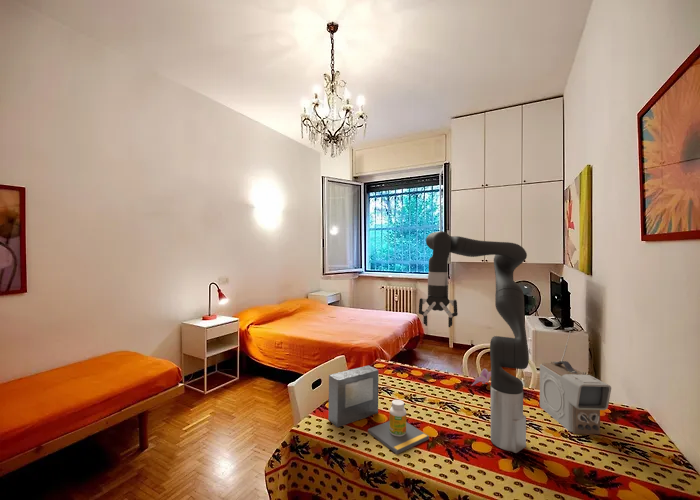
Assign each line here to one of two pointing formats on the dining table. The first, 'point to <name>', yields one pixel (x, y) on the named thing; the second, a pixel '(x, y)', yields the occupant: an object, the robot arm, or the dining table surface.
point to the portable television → (572, 396)
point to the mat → (396, 442)
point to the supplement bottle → (397, 418)
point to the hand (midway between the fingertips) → (437, 326)
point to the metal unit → (353, 395)
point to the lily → (483, 377)
